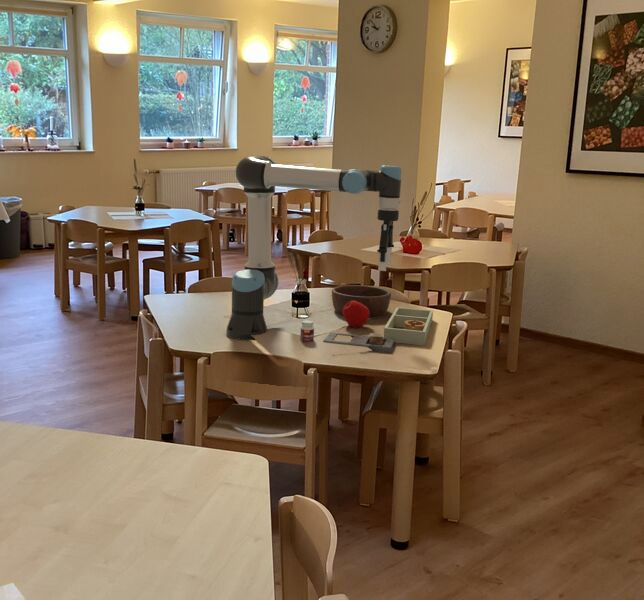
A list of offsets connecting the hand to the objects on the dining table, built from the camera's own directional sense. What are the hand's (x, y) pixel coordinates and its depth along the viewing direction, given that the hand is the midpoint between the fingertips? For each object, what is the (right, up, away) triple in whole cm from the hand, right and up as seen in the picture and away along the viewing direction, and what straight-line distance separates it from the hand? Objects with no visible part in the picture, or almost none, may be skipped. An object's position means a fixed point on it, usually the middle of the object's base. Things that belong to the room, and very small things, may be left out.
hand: (384, 267), depth 273 cm
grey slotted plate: (-9, -28, -4) cm, 30 cm away
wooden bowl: (-7, -18, +43) cm, 48 cm away
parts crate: (+11, -24, +19) cm, 32 cm away
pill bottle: (-28, -28, -6) cm, 40 cm away
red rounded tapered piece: (-13, -14, +17) cm, 25 cm away
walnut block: (-4, -29, -5) cm, 29 cm away
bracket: (+14, -26, +21) cm, 36 cm away
